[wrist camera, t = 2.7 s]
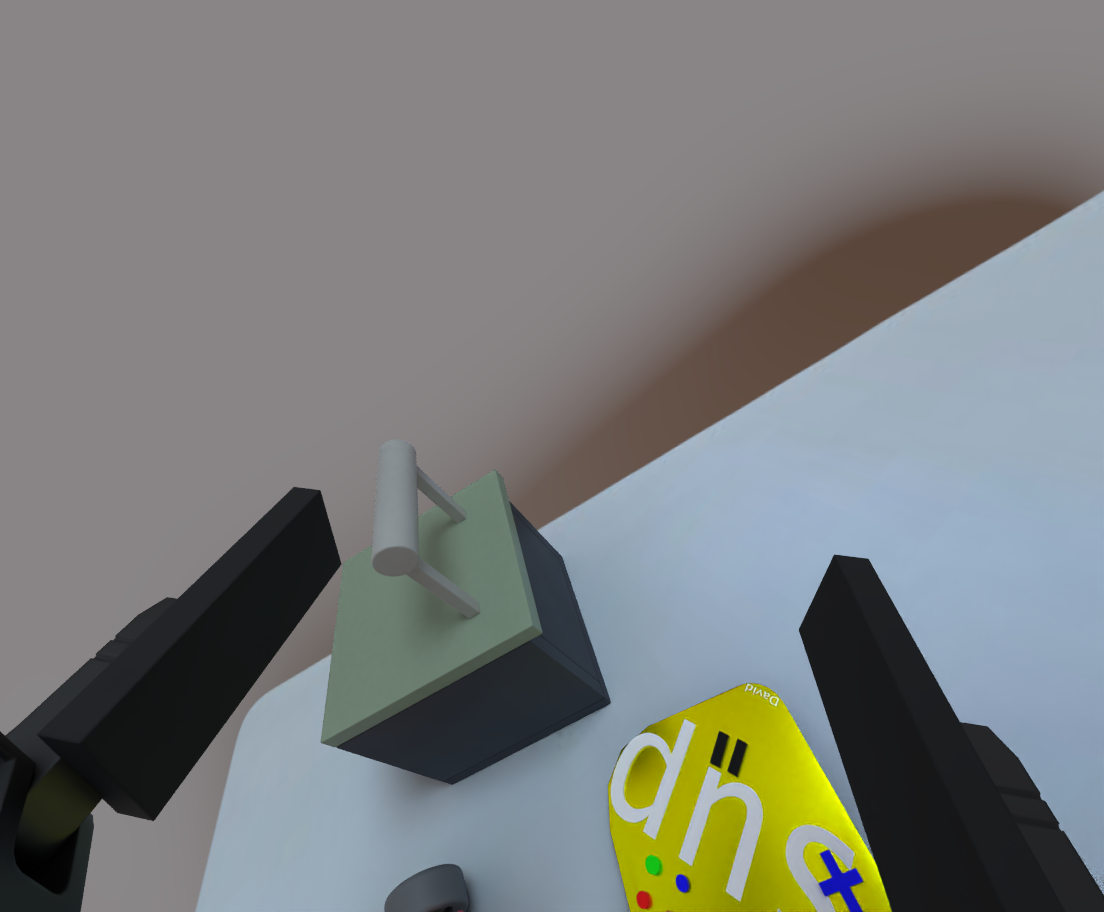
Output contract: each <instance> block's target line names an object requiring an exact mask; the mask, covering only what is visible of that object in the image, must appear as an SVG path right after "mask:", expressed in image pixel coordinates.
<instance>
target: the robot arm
mask: <svg viewBox="0 0 1104 912" xmlns="http://www.w3.org/2000/svg"><path fill="white" fill-rule="evenodd" d="M340 565H341V561H340V557H339V554H338V550H337V547H336V543H335V540H334V536H333V533H332V530H331V526H330V523H329V519H328V516H327V512H326V508H325V505H324V501H323V498H322V494H321V491H320V490H314V489H305V488H298V487H294V488H292V490H290V491H289V492H288V493H287V494H286V495H285V496H284V497H283V498H282V499H281V500H280V501H279V502H278V503H277V504H276V505H275V506H274V507H273V508H272V509H271V510H270V511H269V512H268V513H267V514H266V515H264V516H263V517H262V518H261V519H260V520H259V521H258V522H257V523H256V524H255V525H254V526H253V527H252V528H251V529H250V530H249V531H248V532H247V533H246V534H245V535H244V536H243V537H241V538H240V539H239V540H238V542H236V543H235V544H234V545H233V546H232V547H231V548H230V549H229V550H228V551H227V552H226V553H225V554H224V555H223V556H222V557H221V558H220V559H219V560H218V561H217V562H215V564H213V565H212V566H211V567H210V568H209V569H208V570H207V571H206V572H205V573H204V574H203V575H202V576H201V577H200V578H199V579H198V580H197V581H196V582H195V583H194V584H193V585H192V586H191V587H189V588H188V590H186V591H185V592H184V593H183V594H182V595H181V596H180V597H179V598H178V599H175V598H168V597H167V598H165V599H164V600H162V601H160V602H159V603H157V604H155V605H154V606H152V607H150V608H149V609H147V610H145V611H144V612H142V613H141V614H139V615H138V616H137V617H135V618H134V619H133V620H132V621H131V622H130V623H129V624H128V625H127V626H126V627H125V628H123V629H122V630H121V631H120V632H119V633H118V634H117V635H116V638H115V639H114V640H110V642H108V643H107V644H106V645H105V646H104V647H103V648H102V649H101V650H100V651H98V652H97V653H96V657H95V658H93V659H92V658H91V659H90V660H89V661H88V662H86V663H85V664H84V665H83V666H82V667H81V668H80V669H79V670H78V671H77V672H76V673H74V674H73V675H72V676H71V677H70V678H69V679H68V680H67V681H66V682H65V683H64V684H62V685H61V686H60V687H59V688H58V689H57V690H56V691H55V692H54V693H53V694H52V695H51V696H49V697H48V698H47V699H46V700H45V701H44V702H43V703H42V704H41V705H40V706H39V707H37V708H36V709H35V710H34V711H33V712H32V713H31V714H30V715H29V716H28V717H27V718H25V719H24V720H23V721H22V722H21V723H20V724H19V725H18V726H17V727H15V728H14V729H13V730H12V731H11V732H9V733H8V734H7V735H6V736H5V735H4V734H2V733H1V732H0V912H80V911H81V905H82V898H83V892H84V886H85V879H86V873H87V867H88V861H89V854H90V848H91V841H92V835H93V829H94V824H93V815H92V814H91V811H92V810H93V809H94V808H95V807H96V805H97V804H98V803H99V802H100V800H101V799H103V800H105V801H106V802H107V803H108V804H109V805H110V806H111V807H112V808H113V809H114V810H115V811H116V812H117V813H120V814H125V815H129V816H134V817H138V818H143V819H147V820H152V821H154V820H155V819H156V817H157V816H158V815H159V813H160V812H161V811H162V809H163V808H164V806H165V805H166V804H167V802H168V801H169V800H170V798H171V797H172V795H173V794H174V793H175V791H176V790H177V789H178V787H179V786H180V784H181V783H182V782H183V780H184V779H185V778H186V776H187V775H188V774H189V772H190V771H191V769H192V768H193V766H194V765H195V764H196V763H197V761H198V760H199V758H200V757H201V756H202V754H203V753H204V752H205V750H206V749H207V748H208V746H209V745H210V743H211V742H212V741H213V739H214V738H215V737H216V735H217V734H218V732H219V731H220V730H221V728H222V727H223V726H224V724H225V723H226V722H227V720H228V719H229V717H230V716H231V715H232V713H233V712H234V711H235V709H236V708H237V706H238V705H239V703H240V702H241V701H242V700H243V698H244V697H245V696H246V694H247V693H248V691H249V690H250V689H251V687H252V686H253V685H254V683H255V682H256V680H257V679H258V678H259V676H260V675H261V674H262V672H263V671H264V669H265V668H266V667H267V665H268V664H269V663H270V661H271V660H272V658H273V657H274V656H275V654H276V653H277V652H278V650H279V649H280V648H281V646H282V645H283V643H284V642H285V641H286V639H287V638H288V637H289V635H290V634H291V633H292V631H293V630H294V628H295V627H296V626H297V624H298V623H299V622H300V620H301V619H302V617H303V616H304V615H305V613H306V612H307V611H308V609H309V608H310V606H311V605H312V604H313V602H314V601H315V600H316V598H317V597H318V596H319V594H320V593H321V591H322V590H323V589H324V587H325V586H326V585H327V583H328V582H329V580H330V579H331V578H332V576H333V575H334V574H335V572H336V571H337V570H338V568H339V567H340ZM799 632H800V635H801V638H802V641H803V644H804V647H805V650H806V653H807V656H808V659H809V662H810V665H811V668H812V671H813V674H814V677H815V680H816V684H817V687H818V690H819V693H820V696H821V699H822V702H823V705H824V708H825V711H826V714H827V717H828V720H829V723H830V726H831V729H832V732H833V735H834V738H835V741H836V744H837V747H838V750H839V753H840V756H841V759H842V762H843V765H844V768H845V771H846V774H847V777H848V780H849V783H850V787H851V790H852V793H853V796H854V799H855V802H856V805H857V808H858V811H859V814H860V817H861V820H862V823H863V826H864V829H865V832H866V835H867V838H868V841H869V844H870V847H871V850H872V853H873V856H874V859H875V862H876V865H877V868H878V871H879V874H880V877H881V880H882V883H883V887H884V890H885V893H886V896H887V899H888V902H889V905H890V908H891V911H892V912H1104V895H1103V893H1102V892H1101V890H1100V888H1099V887H1098V885H1097V884H1096V882H1095V880H1094V879H1093V877H1092V876H1091V874H1090V872H1089V871H1088V869H1087V868H1086V866H1085V864H1084V863H1083V861H1082V859H1081V858H1080V856H1079V855H1078V853H1077V851H1076V850H1075V848H1074V847H1073V845H1072V843H1071V842H1070V840H1069V839H1068V837H1067V835H1066V834H1065V832H1064V831H1061V830H1060V829H1059V823H1058V821H1057V819H1056V818H1055V816H1054V815H1053V813H1052V811H1051V810H1050V808H1049V807H1048V805H1047V803H1046V802H1045V801H1043V800H1042V799H1041V798H1040V792H1039V790H1038V789H1037V787H1036V786H1035V784H1034V782H1033V781H1032V779H1031V778H1030V776H1029V774H1028V773H1027V771H1026V770H1025V768H1024V766H1023V765H1022V763H1021V762H1020V760H1019V758H1018V757H1017V756H1016V755H1015V754H1014V753H1013V752H1012V751H1011V750H1010V749H1009V748H1008V747H1007V746H1006V745H1005V744H1004V743H1003V742H1002V741H1001V740H1000V739H999V738H998V737H997V736H996V735H995V734H994V733H993V732H992V731H991V730H990V729H989V728H988V727H987V726H981V725H975V724H968V723H962V722H959V720H958V718H957V716H956V715H955V713H954V711H953V709H952V707H951V706H950V704H949V702H948V700H947V698H946V697H945V695H944V693H943V691H942V689H941V688H940V686H939V684H938V682H937V681H936V679H935V677H934V675H933V673H932V672H931V670H930V668H929V666H928V664H927V663H926V661H925V659H924V657H923V656H922V654H921V652H920V650H919V648H918V647H917V645H916V643H915V641H914V639H913V638H912V636H911V634H910V632H909V631H908V629H907V627H906V625H905V623H904V622H903V620H902V618H901V616H900V614H899V613H898V611H897V609H896V607H895V605H894V604H893V602H892V600H891V598H890V597H889V595H888V593H887V591H886V589H885V588H884V586H883V584H882V582H881V580H880V579H879V577H878V575H877V573H876V572H875V570H874V568H873V566H872V564H871V563H870V561H869V559H865V558H857V557H849V556H841V555H834V556H833V558H832V560H831V563H830V565H829V567H828V569H827V571H826V573H825V575H824V577H823V579H822V582H821V584H820V586H819V588H818V590H817V592H816V594H815V596H814V599H813V601H812V603H811V605H810V607H809V609H808V611H807V613H806V615H805V618H804V620H803V622H802V624H801V626H800V628H799Z"/></svg>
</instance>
